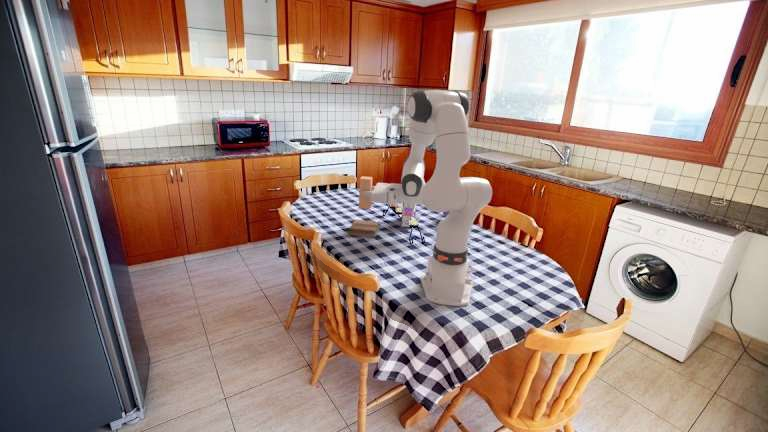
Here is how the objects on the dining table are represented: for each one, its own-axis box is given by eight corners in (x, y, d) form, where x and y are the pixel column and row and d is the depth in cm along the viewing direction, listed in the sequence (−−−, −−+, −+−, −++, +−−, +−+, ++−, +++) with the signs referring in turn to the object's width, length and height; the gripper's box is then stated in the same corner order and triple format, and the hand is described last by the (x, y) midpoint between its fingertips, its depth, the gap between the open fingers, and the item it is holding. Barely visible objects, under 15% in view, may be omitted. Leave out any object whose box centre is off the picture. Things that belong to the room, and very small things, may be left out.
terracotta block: (369, 209, 173) (370, 179, 169) (358, 208, 174) (359, 178, 169) (371, 205, 178) (372, 177, 173) (360, 205, 179) (361, 176, 174)
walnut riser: (374, 237, 174) (375, 231, 173) (349, 234, 175) (349, 228, 174) (378, 228, 185) (378, 222, 184) (354, 225, 186) (354, 220, 185)
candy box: (412, 228, 187) (415, 196, 181) (400, 227, 188) (403, 195, 182) (415, 219, 200) (418, 189, 194) (404, 218, 201) (407, 188, 195)
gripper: (396, 180, 180) (368, 178, 182) (391, 192, 161) (359, 189, 163) (395, 193, 183) (367, 190, 184) (390, 206, 163) (359, 203, 165)
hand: (363, 190), depth 173 cm, fingers closed on terracotta block, 5 cm apart
